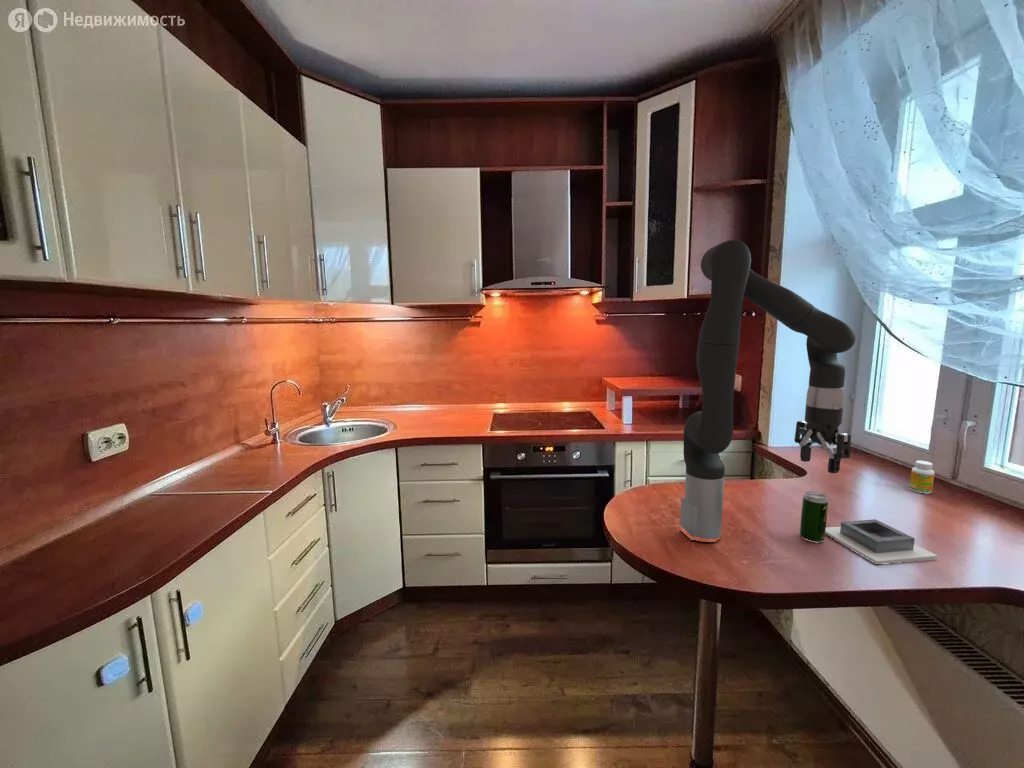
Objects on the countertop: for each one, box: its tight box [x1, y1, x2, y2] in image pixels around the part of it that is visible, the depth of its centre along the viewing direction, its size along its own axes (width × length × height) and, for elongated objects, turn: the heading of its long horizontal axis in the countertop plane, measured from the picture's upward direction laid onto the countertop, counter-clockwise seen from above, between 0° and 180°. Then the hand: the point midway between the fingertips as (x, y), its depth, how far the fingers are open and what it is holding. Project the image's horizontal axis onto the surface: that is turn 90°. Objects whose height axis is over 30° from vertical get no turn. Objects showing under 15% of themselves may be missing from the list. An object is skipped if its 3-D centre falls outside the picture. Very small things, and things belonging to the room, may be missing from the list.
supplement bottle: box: [908, 460, 935, 495], centre depth 139 cm, size 5×5×10 cm
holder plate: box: [825, 525, 939, 564], centre depth 108 cm, size 16×16×1 cm
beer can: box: [799, 490, 829, 542], centre depth 111 cm, size 5×5×12 cm
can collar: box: [840, 518, 915, 553], centre depth 108 cm, size 10×10×3 cm
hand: (818, 466), depth 109 cm, fingers open, 8 cm apart
